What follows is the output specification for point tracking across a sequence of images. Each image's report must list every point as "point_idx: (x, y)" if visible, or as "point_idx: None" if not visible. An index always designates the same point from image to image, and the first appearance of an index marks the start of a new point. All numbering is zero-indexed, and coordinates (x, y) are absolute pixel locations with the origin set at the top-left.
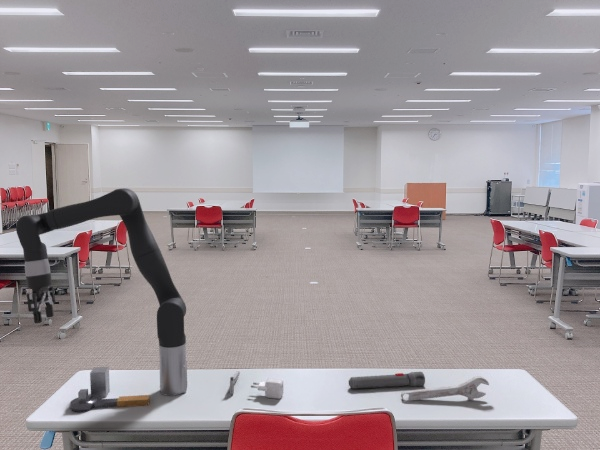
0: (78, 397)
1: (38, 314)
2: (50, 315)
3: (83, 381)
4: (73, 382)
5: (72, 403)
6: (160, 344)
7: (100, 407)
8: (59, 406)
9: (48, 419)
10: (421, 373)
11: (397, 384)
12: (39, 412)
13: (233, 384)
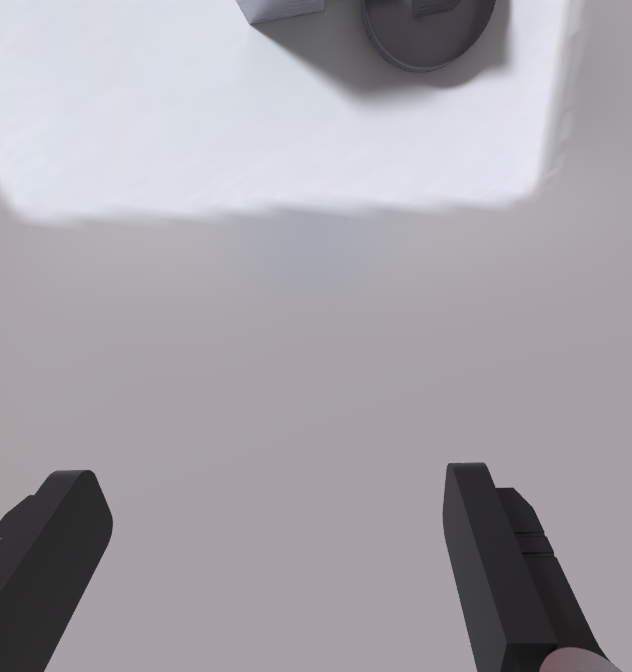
0: (459, 2)
1: (549, 603)
2: (86, 504)
3: (132, 158)
4: (151, 205)
5: (457, 44)
6: None
7: None
8: (410, 139)
9: (537, 123)
10: None
11: None
12: (462, 202)
13: None
